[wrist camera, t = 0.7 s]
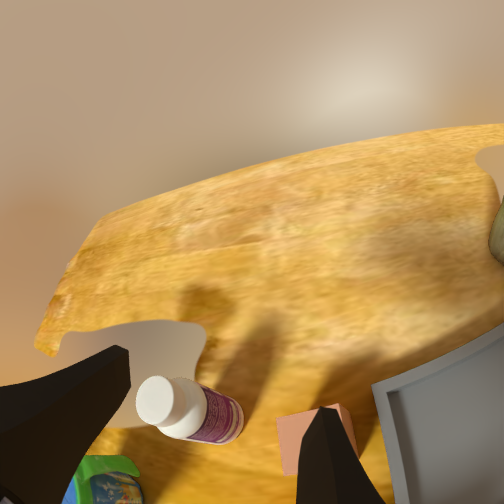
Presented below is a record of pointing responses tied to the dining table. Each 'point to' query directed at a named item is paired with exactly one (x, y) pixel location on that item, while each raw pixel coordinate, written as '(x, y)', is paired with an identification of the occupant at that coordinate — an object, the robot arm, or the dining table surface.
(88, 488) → the snack cup
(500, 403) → the grey bin
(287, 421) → the terracotta block
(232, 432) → the pill bottle
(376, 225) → the dining table surface
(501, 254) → the fennel bulb
